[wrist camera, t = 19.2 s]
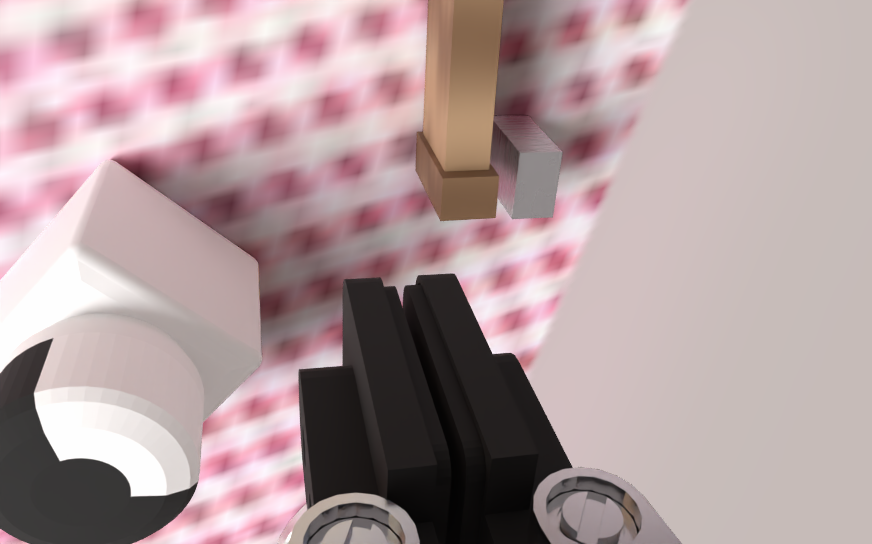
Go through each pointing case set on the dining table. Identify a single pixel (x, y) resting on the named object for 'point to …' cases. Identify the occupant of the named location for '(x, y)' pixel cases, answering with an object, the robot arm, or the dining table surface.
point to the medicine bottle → (117, 362)
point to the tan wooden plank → (460, 108)
